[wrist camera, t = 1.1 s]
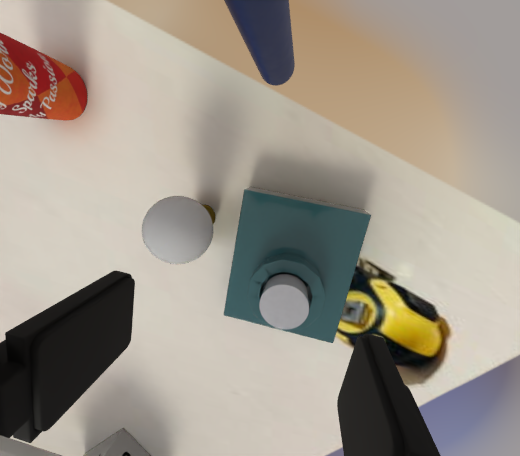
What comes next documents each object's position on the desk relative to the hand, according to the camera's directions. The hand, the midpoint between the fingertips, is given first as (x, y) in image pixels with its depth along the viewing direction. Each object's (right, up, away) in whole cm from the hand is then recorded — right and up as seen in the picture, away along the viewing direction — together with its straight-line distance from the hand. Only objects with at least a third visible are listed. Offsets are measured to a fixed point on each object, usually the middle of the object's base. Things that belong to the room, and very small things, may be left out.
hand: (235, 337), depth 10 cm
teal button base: (+4, +1, +20) cm, 21 cm away
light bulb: (-5, +6, +21) cm, 22 cm away
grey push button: (+3, -3, +16) cm, 17 cm away
